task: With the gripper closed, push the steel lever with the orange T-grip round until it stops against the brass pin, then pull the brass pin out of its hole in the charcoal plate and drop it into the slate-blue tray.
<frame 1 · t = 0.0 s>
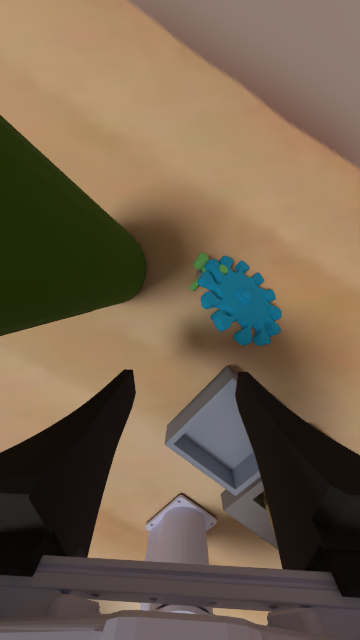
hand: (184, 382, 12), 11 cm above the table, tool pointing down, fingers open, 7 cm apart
tray: (228, 422, 24), on the table
wine bottle: (111, 267, 21), on the table
crank plate: (298, 489, 26), on the table
blue spiky round piece: (228, 293, 21), on the table
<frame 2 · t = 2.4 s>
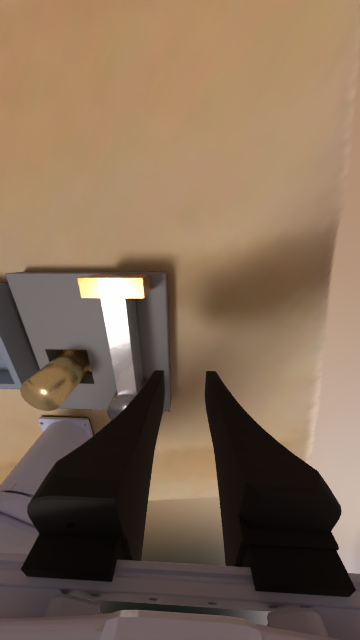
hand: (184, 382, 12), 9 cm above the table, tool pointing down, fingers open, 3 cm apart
crank plate: (107, 344, 22), on the table
lever: (126, 356, 17), point 4 cm above the table, hinge at 0.0°
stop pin: (80, 357, 22), resting in crank plate
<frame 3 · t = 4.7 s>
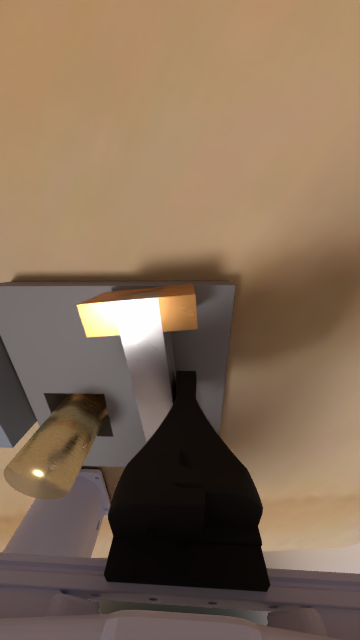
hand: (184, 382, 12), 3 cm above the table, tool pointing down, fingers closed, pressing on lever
crank plate: (130, 380, 15), on the table
lever: (162, 413, 11), point 4 cm above the table, hinge at 5.0°, touching gripper
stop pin: (92, 397, 16), resting in crank plate
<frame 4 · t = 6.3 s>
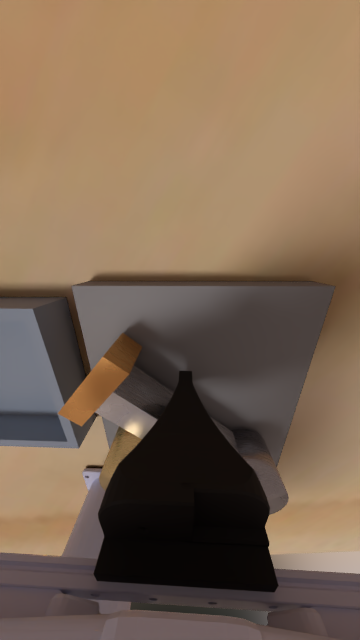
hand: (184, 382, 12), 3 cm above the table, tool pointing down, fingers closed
tray: (15, 365, 15), on the table
crank plate: (194, 381, 15), on the table
lever: (189, 434, 12), point 4 cm above the table, hinge at 49.6°, touching gripper
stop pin: (152, 398, 16), resting in crank plate
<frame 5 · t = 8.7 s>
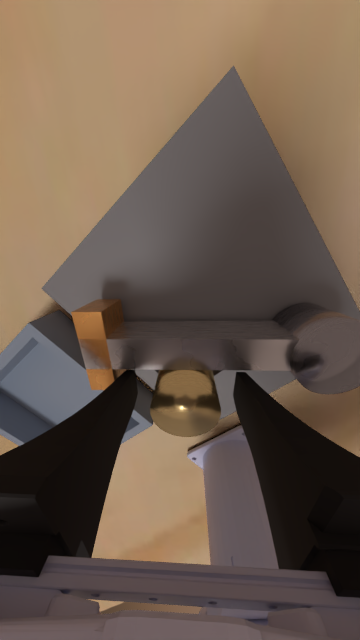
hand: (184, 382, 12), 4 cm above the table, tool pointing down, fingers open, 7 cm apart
tray: (73, 390, 18), on the table
crank plate: (206, 305, 14), on the table
lever: (219, 344, 11), point 4 cm above the table, hinge at 50.8°, touching gripper, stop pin
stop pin: (185, 351, 16), resting in crank plate, touching lever
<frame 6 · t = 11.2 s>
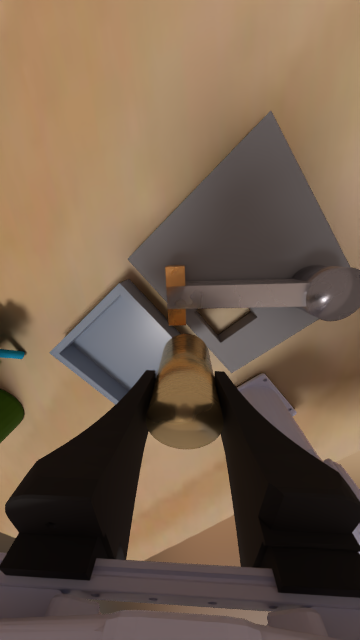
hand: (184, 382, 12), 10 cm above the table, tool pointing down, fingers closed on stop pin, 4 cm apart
tray: (131, 346, 23), on the table
crank plate: (240, 273, 19), on the table
blue spiky round piece: (3, 336, 23), on the table
lever: (255, 292, 15), point 4 cm above the table, hinge at 50.8°
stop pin: (185, 354, 15), point 7 cm above the table, touching gripper
when the fingers open (6 cm above the table, at t = 13.1 s): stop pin drops 1 cm, resting on tray.
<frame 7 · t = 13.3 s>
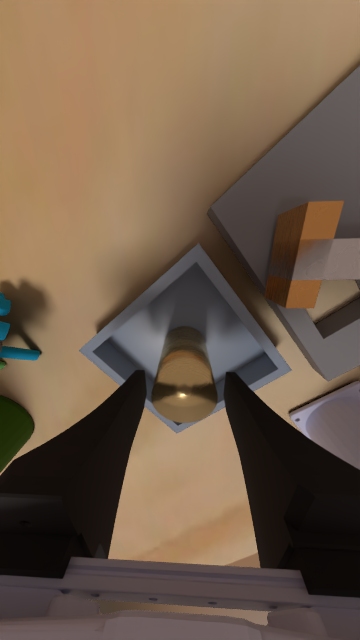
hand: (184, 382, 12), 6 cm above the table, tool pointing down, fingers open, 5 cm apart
tray: (185, 342, 17), on the table
wine bottle: (1, 417, 22), on the table
blue spiky round piece: (11, 330, 17), on the table
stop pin: (184, 345, 16), point 1 cm above the table, touching tray
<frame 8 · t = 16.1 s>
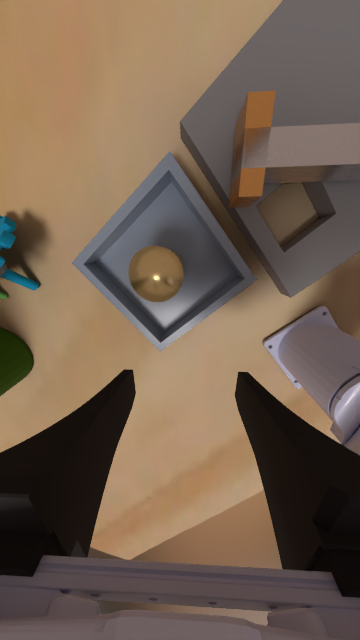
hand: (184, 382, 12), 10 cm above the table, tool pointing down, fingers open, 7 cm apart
tray: (167, 269, 19), on the table
wine bottle: (3, 352, 24), on the table
crank plate: (313, 160, 15), on the table
blue spiky round piece: (14, 262, 19), on the table
lever: (354, 154, 12), point 4 cm above the table, hinge at 50.8°
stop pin: (166, 268, 18), point 1 cm above the table, touching tray
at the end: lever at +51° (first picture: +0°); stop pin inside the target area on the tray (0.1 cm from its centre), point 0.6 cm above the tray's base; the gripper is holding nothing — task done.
